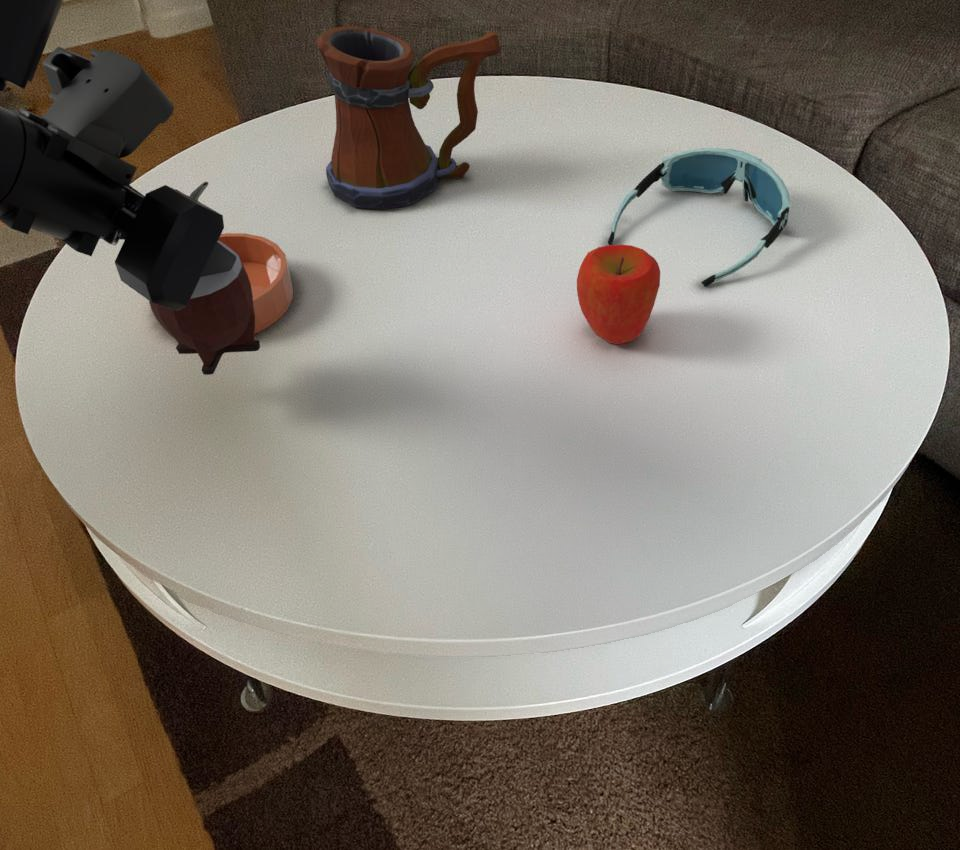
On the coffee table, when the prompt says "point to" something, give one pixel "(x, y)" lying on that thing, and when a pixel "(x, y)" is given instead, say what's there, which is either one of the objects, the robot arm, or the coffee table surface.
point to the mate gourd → (214, 314)
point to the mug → (392, 115)
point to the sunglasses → (721, 188)
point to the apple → (618, 291)
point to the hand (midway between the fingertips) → (208, 248)
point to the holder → (263, 275)
